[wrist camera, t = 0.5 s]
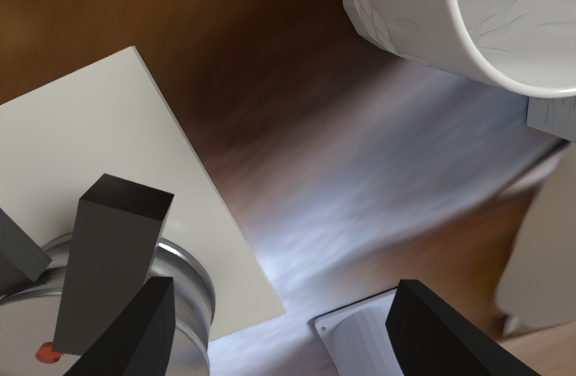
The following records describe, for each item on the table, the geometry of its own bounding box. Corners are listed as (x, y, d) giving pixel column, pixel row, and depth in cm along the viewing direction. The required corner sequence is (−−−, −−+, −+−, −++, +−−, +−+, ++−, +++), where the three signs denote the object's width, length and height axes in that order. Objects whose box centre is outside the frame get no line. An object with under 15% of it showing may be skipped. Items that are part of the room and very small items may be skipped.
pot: (259, 347, 25) (261, 411, 21) (122, 397, 26) (98, 469, 22) (82, 94, 15) (21, 118, 11) (-129, 188, 16) (-262, 245, 12)
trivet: (285, 308, 24) (285, 313, 24) (91, 381, 25) (89, 387, 25) (134, 45, 15) (130, 46, 15) (-158, 177, 16) (-169, 182, 16)
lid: (168, 462, 22) (160, 508, 20) (-49, 447, 18) (-87, 502, 16) (288, 223, 14) (296, 257, 12) (-49, 120, 11) (-123, 143, 9)
